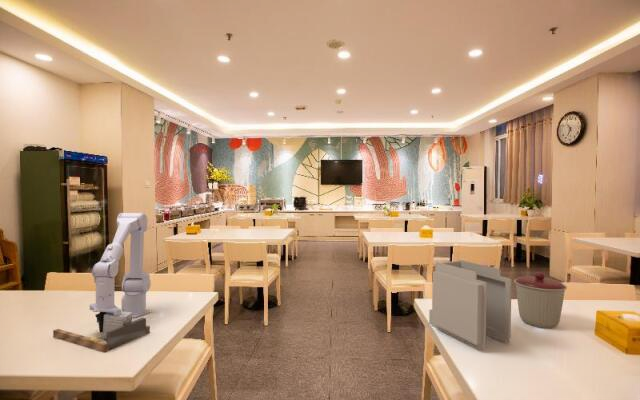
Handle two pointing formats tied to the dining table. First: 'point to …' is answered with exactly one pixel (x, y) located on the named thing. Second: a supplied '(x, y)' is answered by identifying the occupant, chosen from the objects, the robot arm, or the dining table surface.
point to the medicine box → (115, 321)
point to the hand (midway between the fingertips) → (104, 332)
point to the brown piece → (108, 335)
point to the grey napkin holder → (471, 302)
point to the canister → (540, 300)
